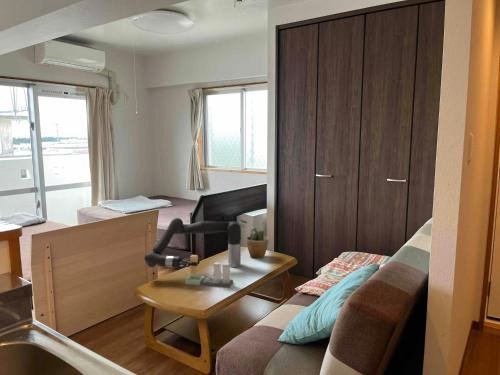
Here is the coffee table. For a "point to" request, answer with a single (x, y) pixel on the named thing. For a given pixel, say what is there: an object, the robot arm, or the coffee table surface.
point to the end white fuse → (226, 271)
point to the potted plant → (257, 243)
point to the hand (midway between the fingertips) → (198, 263)
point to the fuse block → (216, 282)
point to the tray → (194, 280)
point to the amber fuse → (194, 268)
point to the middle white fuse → (217, 271)
